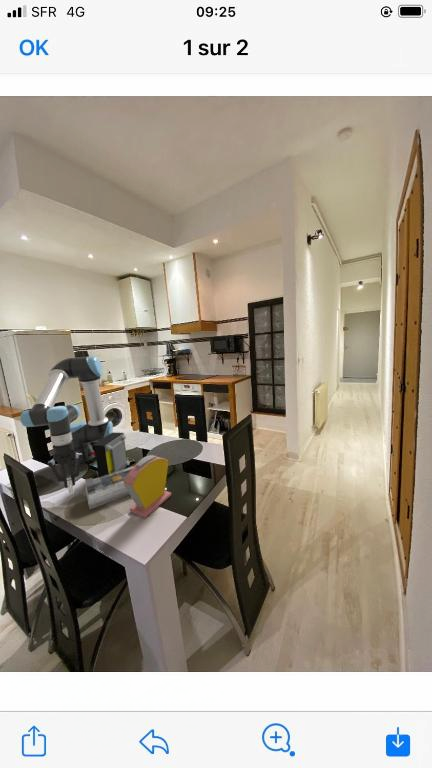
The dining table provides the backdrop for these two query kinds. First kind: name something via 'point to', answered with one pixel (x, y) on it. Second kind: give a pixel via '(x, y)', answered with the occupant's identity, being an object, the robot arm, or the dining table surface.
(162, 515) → the dining table surface
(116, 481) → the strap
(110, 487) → the rail slide plate
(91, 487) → the grey slider block
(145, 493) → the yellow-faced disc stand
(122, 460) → the electrical component
